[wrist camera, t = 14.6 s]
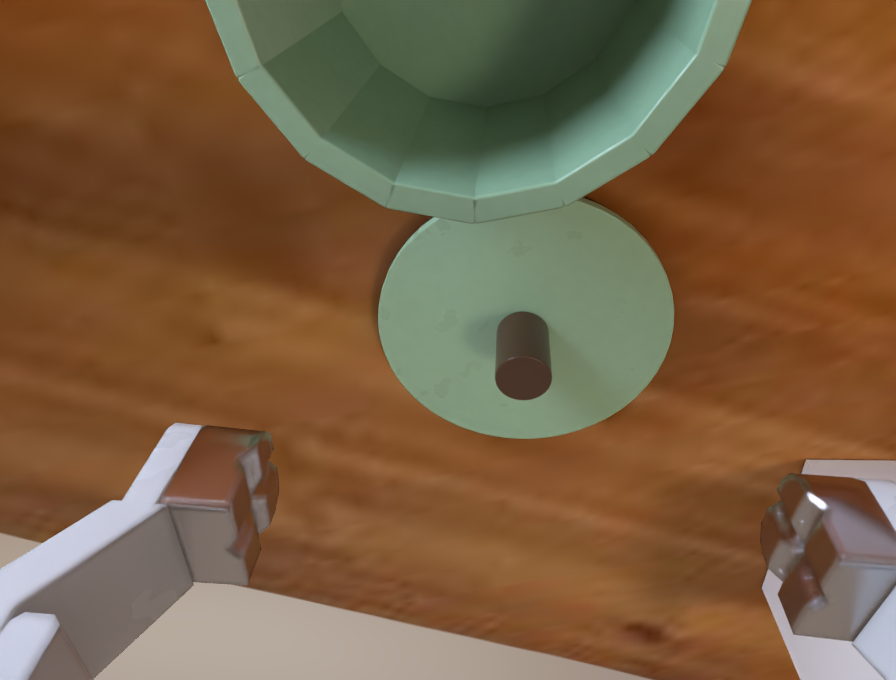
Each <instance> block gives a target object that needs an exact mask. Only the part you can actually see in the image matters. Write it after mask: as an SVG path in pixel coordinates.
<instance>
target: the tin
mask: <svg viewBox="0 0 896 680" xmlns="http://www.w3.org/2000/svg"><path fill="white" fill-rule="evenodd" d="M205 1H206V3H207V6H208V8H209V11H210V13H211V16H212V18H213V21H214V23H215V26H216V28H217V31H218V33H219V36H220V38H221V41H222V43H223V46H224V48H225V51H226V53H227V56H228V58H229V61H230V63H231V66H232V68H233V71H234V73H235V75H236V77H239V78H238V80H239V82H240V83H241V84H242V86H243V87H244V88H245V89H246V90H247V92H248V93H249V94H250V95H251V96H252V97H253V99H254V100H255V101H256V102H257V103H258V105H259V106H260V107H261V108H262V109H263V111H264V112H265V113H266V114H267V115H268V117H269V118H270V119H271V120H272V121H273V122H274V124H275V125H276V126H277V127H278V128H279V130H280V131H281V132H282V133H283V134H284V136H285V137H286V138H287V139H288V140H289V142H290V143H291V144H292V145H293V146H294V147H295V149H296V150H297V151H298V152H299V153H300V155H301V156H302V157H303V158H306V161H308V162H309V163H311V164H313V165H314V166H316V167H318V168H319V169H321V170H323V171H324V172H326V173H328V174H329V175H331V176H333V177H334V178H336V179H338V180H340V181H341V182H343V183H345V184H346V185H348V186H350V187H351V188H353V189H355V190H356V191H358V192H360V193H361V194H363V195H365V196H366V197H368V198H370V199H371V200H373V201H375V202H377V203H378V204H380V205H382V206H383V207H387V208H388V209H393V210H398V211H404V212H409V213H415V214H420V215H426V216H431V217H437V218H442V219H447V220H453V221H458V222H464V223H469V224H474V223H477V224H479V223H484V222H489V221H495V220H500V219H506V218H511V217H516V216H522V215H527V214H533V213H538V212H543V211H549V210H554V209H560V208H563V207H564V206H569V205H570V204H572V203H574V202H575V201H577V200H579V199H580V198H582V197H584V196H585V195H587V194H589V193H590V192H592V191H594V190H595V189H597V188H599V187H601V186H602V185H604V184H606V183H607V182H609V181H611V180H612V179H614V178H616V177H617V176H619V175H621V174H622V173H624V172H626V171H627V170H629V169H631V168H632V167H634V166H636V165H637V164H639V163H641V162H642V161H644V160H646V159H647V158H649V157H650V155H653V154H654V153H655V152H656V151H657V149H658V148H659V147H660V146H661V145H662V143H663V142H664V141H665V140H666V139H667V137H668V136H669V135H670V134H671V133H672V131H673V130H674V129H675V128H676V127H677V125H678V124H679V123H680V122H681V121H682V119H683V118H684V117H685V116H686V115H687V114H688V112H689V111H690V110H691V109H692V108H693V106H694V105H695V104H696V103H697V102H698V100H699V99H700V98H701V97H702V96H703V94H704V93H705V92H706V91H707V90H708V88H709V87H710V86H711V85H712V84H713V82H714V81H715V80H716V79H717V78H718V76H719V75H720V74H721V73H722V72H723V70H724V67H725V66H726V65H727V63H728V60H729V58H730V55H731V53H732V50H733V48H734V45H735V42H736V40H737V37H738V35H739V32H740V30H741V27H742V24H743V22H744V19H745V17H746V14H747V12H748V9H749V7H750V4H751V1H752V0H205Z"/></svg>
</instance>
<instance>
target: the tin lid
mask: <svg viewBox="0 0 896 680" xmlns="http://www.w3.org/2000/svg"><path fill="white" fill-rule="evenodd" d="M378 325H379V334H380V339H381V343H382V346H383V350H384V353H385V355H386V358H387V360H388V362H389V364H390V367H391V368H392V370H393V371H394V373H395V375H396V376H397V378H398V380H399V381H400V382H401V383H402V384H403V386H404V387H405V388H406V389H407V391H408V392H409V393H410V394H411V395H412V396H413V397H414V398H416V399H417V400H418V401H419V402H420V403H421V404H422V405H424V406H425V407H426V408H428V409H429V410H430V411H432V412H433V413H435V414H437V415H438V416H440V417H442V418H443V419H445V420H447V421H449V422H451V423H453V424H456V425H458V426H460V427H462V428H465V429H468V430H471V431H474V432H478V433H482V434H486V435H491V436H496V437H504V438H517V439H532V438H546V437H552V436H558V435H563V434H567V433H571V432H574V431H578V430H581V429H583V428H586V427H589V426H591V425H594V424H596V423H598V422H600V421H602V420H604V419H606V418H608V417H610V416H611V415H613V414H614V413H616V412H618V411H619V410H621V409H622V408H624V407H625V406H626V405H627V404H628V403H630V402H631V401H632V400H633V399H635V398H636V397H637V396H638V395H639V394H640V393H641V392H642V390H643V389H644V388H645V387H646V386H647V385H648V384H649V382H650V381H651V380H652V378H653V377H654V376H655V374H656V373H657V371H658V369H659V368H660V366H661V364H662V362H663V360H664V358H665V356H666V353H667V350H668V348H669V345H670V342H671V337H672V332H673V327H674V303H673V295H672V290H671V287H670V284H669V280H668V277H667V274H666V272H665V270H664V268H663V266H662V264H661V262H660V260H659V258H658V255H657V254H656V253H655V251H654V250H653V248H652V247H651V245H650V244H649V243H648V241H647V240H646V239H645V238H644V237H643V236H642V235H641V234H640V233H639V232H638V231H637V230H636V228H635V227H634V226H632V225H631V224H630V223H628V222H627V221H626V220H624V219H623V218H622V217H621V216H619V215H618V214H616V213H615V212H613V211H611V210H609V209H607V208H606V207H604V206H602V205H600V204H598V203H595V202H593V201H590V200H588V199H585V198H583V197H582V198H580V199H579V200H577V201H575V202H574V203H572V204H570V205H569V206H564V207H563V208H560V209H554V210H549V211H543V212H538V213H533V214H527V215H522V216H516V217H511V218H506V219H500V220H495V221H489V222H484V223H479V224H477V223H474V224H469V223H464V222H458V221H453V220H447V219H442V218H437V217H433V218H432V219H430V220H429V221H428V222H426V223H425V224H424V225H422V226H421V227H420V228H419V229H418V230H417V231H416V232H415V233H414V234H413V235H412V236H411V237H410V238H409V239H408V240H407V242H406V243H405V244H404V246H403V247H402V248H401V250H400V251H399V252H398V253H397V255H396V257H395V259H394V261H393V263H392V264H391V266H390V268H389V270H388V273H387V276H386V279H385V282H384V284H383V287H382V291H381V296H380V301H379V308H378Z"/></svg>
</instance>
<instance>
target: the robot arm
mask: <svg viewBox="0 0 896 680" xmlns="http://www.w3.org/2000/svg"><path fill="white" fill-rule="evenodd" d="M273 449H274V448H273V443H272V439H271V434H270V433H268V432H265V431H256V430H246V429H237V428H227V427H218V426H208V425H206V426H202V425H193V424H184V423H175V424H173V425H172V426H170V427H169V428H168V429H167V430H166V432H165V433H164V435H163V436H162V438H161V439H160V441H159V443H158V444H157V446H156V447H155V449H154V451H153V452H152V454H151V455H150V457H149V458H148V460H147V462H146V463H145V465H144V466H143V468H142V469H141V471H140V473H139V474H138V476H137V477H136V479H135V480H134V482H133V484H132V485H131V487H130V488H129V490H128V491H127V493H126V495H125V496H124V498H123V499H122V501H117V500H112V501H110V502H108V503H107V504H105V505H104V506H102V507H100V508H99V509H97V510H95V511H94V512H92V513H91V514H89V515H87V516H86V517H84V518H83V519H81V520H79V521H78V522H76V523H74V524H73V525H71V526H70V527H68V528H66V529H65V530H63V531H61V532H60V533H58V534H57V535H55V536H53V537H52V538H50V539H49V540H47V541H45V542H44V543H42V544H40V545H39V546H37V547H36V548H34V549H32V550H31V551H29V552H28V553H26V554H24V555H23V556H21V557H20V558H18V559H16V560H15V561H13V562H11V563H10V564H8V565H6V566H5V567H3V568H2V569H0V680H93V679H94V678H95V677H96V676H97V675H98V674H99V673H100V672H101V671H102V670H103V669H104V668H106V667H107V666H108V665H109V664H110V663H111V662H112V661H113V660H114V659H115V658H116V657H117V656H118V655H119V654H120V653H122V652H123V651H124V650H125V649H126V648H127V647H128V646H129V645H130V644H131V643H132V642H133V641H134V640H135V639H137V638H138V637H139V636H140V635H141V634H142V633H143V632H144V631H145V630H146V629H147V628H148V627H149V626H150V625H152V624H153V623H154V622H155V621H156V620H157V619H158V618H159V617H160V616H161V615H162V614H163V613H164V612H165V611H166V610H168V609H169V608H170V607H171V606H172V605H173V604H174V603H175V602H176V601H177V600H178V599H179V598H180V597H181V596H183V595H184V594H185V593H186V592H187V591H188V590H189V589H190V588H191V587H192V586H193V582H201V583H217V584H234V585H248V583H249V580H250V578H251V575H252V572H253V570H254V567H255V564H256V562H257V559H258V556H259V554H260V551H261V544H260V539H259V533H261V532H262V531H263V530H265V529H266V528H267V527H268V526H270V524H271V521H272V519H273V516H274V513H275V510H276V505H277V499H278V493H279V477H278V471H277V468H276V467H275V466H274V465H273V464H272V463H271V462H270V461H269V459H270V457H271V454H272V452H273ZM777 491H778V493H779V495H780V498H781V501H780V502H778V503H776V504H775V505H773V506H771V507H769V508H768V509H767V511H766V513H765V515H764V518H763V520H762V522H761V532H760V543H761V549H762V554H763V557H764V560H765V562H766V565H767V568H768V569H769V570H770V571H771V572H772V573H773V574H775V575H776V576H777V577H778V578H779V579H780V580H781V581H782V582H783V583H782V585H781V587H780V590H779V592H778V596H779V599H780V602H781V604H782V607H783V609H784V612H785V614H786V617H787V619H788V622H789V624H790V627H791V630H792V632H793V635H800V636H808V637H817V638H825V639H834V640H842V641H851V642H853V643H852V644H851V645H852V646H853V647H854V648H855V649H856V650H857V651H858V652H859V653H860V654H861V655H862V656H863V657H864V658H865V660H866V661H867V662H868V663H869V664H870V665H871V666H872V667H873V668H874V669H875V670H876V671H877V672H878V673H879V674H880V676H881V677H882V678H883V679H884V680H896V483H895V482H894V481H893V480H879V479H865V478H856V479H855V478H851V477H837V476H823V475H809V474H795V473H790V474H788V475H787V476H786V477H784V478H783V479H782V481H781V483H780V485H779V487H778V489H777Z"/></svg>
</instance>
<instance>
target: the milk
mask: <svg viewBox="0 0 896 680" xmlns="http://www.w3.org/2000/svg"><path fill="white" fill-rule="evenodd" d="M801 474H809V475H823V476H837V477H851V478H855V479H856V478H865V479H879V480H893V481H894V482H895V483H896V460H806V461H805V464H804V467H803V470H802V473H801ZM782 583H783V582H782V581H781V580H780V579H779V578H778V577H777V576H776V575H775V574H773V573H772V572H771V571H770V570H769V569H768V571H767V574H766V577H765V580H764V582H763V585H762V590H763V592H764V594H765V597H766V599H767V602H768V604H769V606H770V609H771V611H772V613H773V616H774V618H775V621H776V623H777V625H778V628H779V630H780V632H781V635H782V637H783V640H784V642H785V644H786V647H787V649H788V651H789V654H790V656H791V659H792V661H793V663H794V666H795V668H796V670H797V673H798V675H799V677H800V680H884V679H883V678H882V677H881V676H880V674H879V673H878V672H877V671H876V670H875V669H874V668H873V667H872V666H871V665H870V664H869V663H868V662H867V661H866V660H865V658H864V657H863V656H862V655H861V654H860V653H859V652H858V651H857V650H856V649H855V648H854V647H853V646H852V645H851V644H852V643H853V642H851V641H842V640H834V639H825V638H817V637H808V636H800V635H793V632H792V630H791V627H790V624H789V622H788V619H787V617H786V614H785V612H784V609H783V607H782V604H781V602H780V599H779V596H778V592H779V590H780V587H781V585H782Z"/></svg>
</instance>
